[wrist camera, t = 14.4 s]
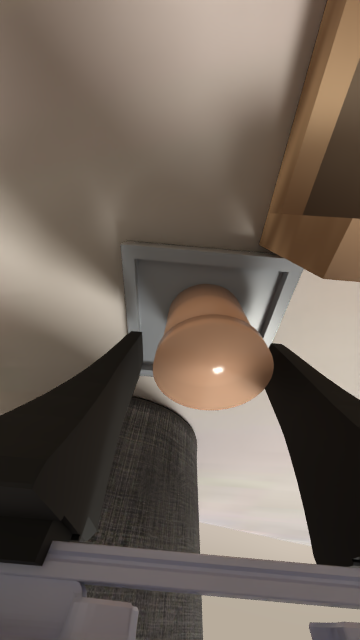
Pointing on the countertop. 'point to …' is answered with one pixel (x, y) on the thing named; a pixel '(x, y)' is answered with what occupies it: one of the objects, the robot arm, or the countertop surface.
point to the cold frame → (323, 158)
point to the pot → (210, 351)
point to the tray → (202, 268)
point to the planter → (153, 514)
